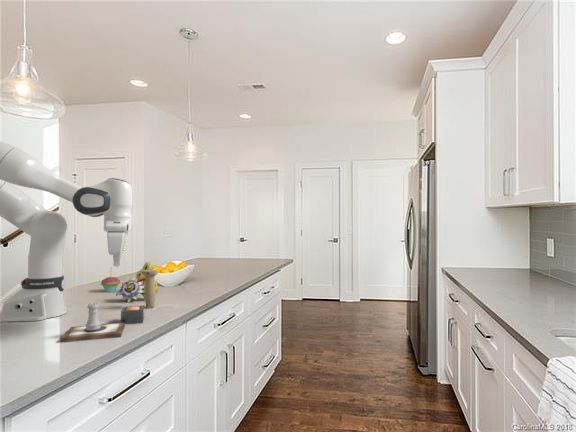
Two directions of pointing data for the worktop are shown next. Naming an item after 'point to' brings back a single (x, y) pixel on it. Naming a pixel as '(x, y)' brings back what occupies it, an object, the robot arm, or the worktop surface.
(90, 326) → the rook chess piece
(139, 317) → the button housing
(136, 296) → the passion flower
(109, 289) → the cupcake
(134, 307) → the button
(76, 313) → the worktop surface
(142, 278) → the yellow green figurine
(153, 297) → the handle
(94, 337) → the board
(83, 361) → the worktop surface
